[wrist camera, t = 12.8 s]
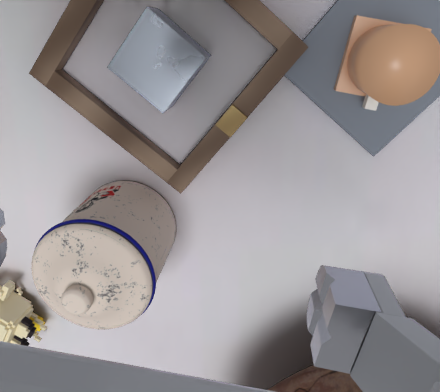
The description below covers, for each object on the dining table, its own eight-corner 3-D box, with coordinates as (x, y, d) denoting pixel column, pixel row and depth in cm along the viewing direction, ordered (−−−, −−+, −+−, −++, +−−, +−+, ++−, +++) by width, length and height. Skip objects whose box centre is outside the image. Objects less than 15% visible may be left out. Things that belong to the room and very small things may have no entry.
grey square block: (121, 63, 30) (107, 67, 28) (158, 8, 29) (146, 6, 26) (172, 106, 31) (162, 113, 28) (211, 55, 29) (205, 58, 27)
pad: (278, 69, 29) (278, 69, 29) (383, -54, 26) (386, -55, 25) (371, 154, 31) (373, 156, 30) (483, 51, 27) (487, 51, 27)
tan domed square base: (354, 15, 27) (372, 12, 22) (427, 28, 27) (460, 28, 22) (331, 98, 29) (343, 111, 24) (397, 111, 29) (422, 126, 24)
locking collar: (37, 71, 31) (26, 73, 30) (142, -110, 26) (135, -117, 24) (183, 188, 34) (180, 195, 33) (307, 46, 28) (309, 47, 27)
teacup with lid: (115, 156, 33) (44, 215, 23) (199, 218, 35) (169, 301, 24) (52, 246, 38) (-32, 332, 27) (129, 299, 39) (78, 399, 29)
